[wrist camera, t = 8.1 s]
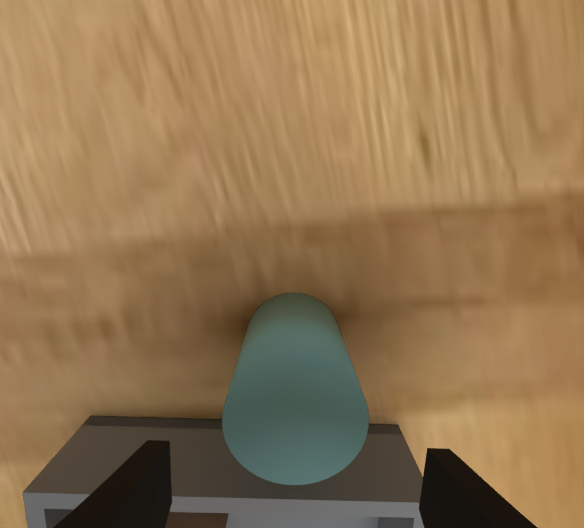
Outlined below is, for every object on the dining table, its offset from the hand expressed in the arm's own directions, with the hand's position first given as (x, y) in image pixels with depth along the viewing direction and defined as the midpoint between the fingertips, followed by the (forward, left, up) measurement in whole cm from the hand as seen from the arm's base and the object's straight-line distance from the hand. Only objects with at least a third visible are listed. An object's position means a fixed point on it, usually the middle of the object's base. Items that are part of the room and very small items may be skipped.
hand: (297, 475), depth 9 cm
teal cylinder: (0, 0, -9) cm, 9 cm away
